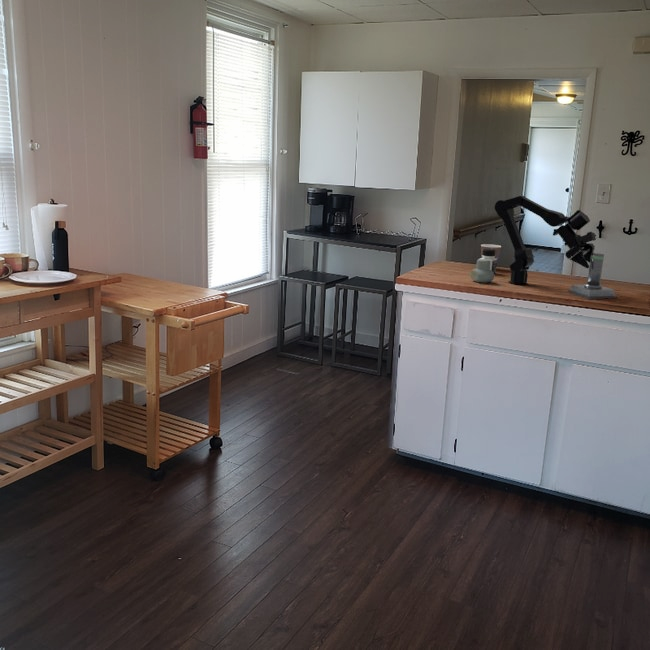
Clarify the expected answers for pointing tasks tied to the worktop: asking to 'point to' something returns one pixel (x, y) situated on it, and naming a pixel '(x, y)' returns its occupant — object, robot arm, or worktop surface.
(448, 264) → the worktop surface
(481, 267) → the air freshener
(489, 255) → the medicine bottle
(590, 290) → the metal stand
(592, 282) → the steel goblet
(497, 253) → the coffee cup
